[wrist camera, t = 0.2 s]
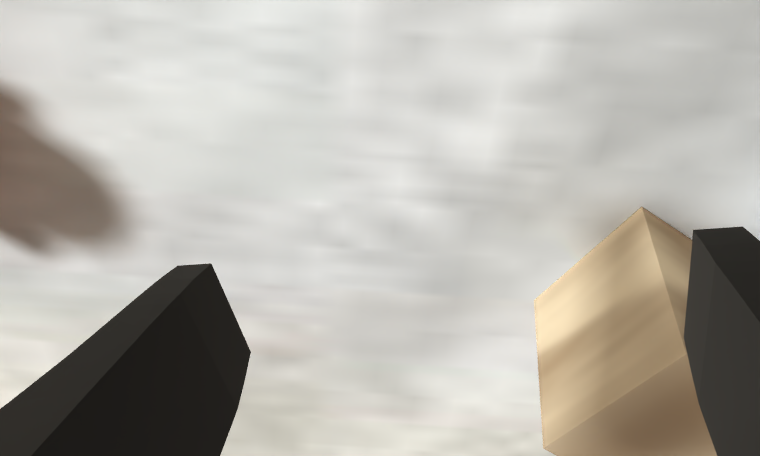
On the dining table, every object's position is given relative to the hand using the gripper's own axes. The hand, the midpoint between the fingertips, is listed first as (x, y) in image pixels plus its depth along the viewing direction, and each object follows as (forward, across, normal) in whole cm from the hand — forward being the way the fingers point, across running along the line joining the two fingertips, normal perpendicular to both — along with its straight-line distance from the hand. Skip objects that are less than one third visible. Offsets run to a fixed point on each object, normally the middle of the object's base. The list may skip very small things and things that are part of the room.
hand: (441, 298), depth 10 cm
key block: (+10, -4, +9) cm, 14 cm away
